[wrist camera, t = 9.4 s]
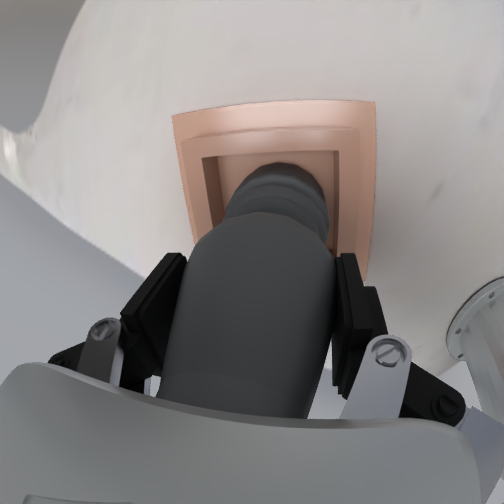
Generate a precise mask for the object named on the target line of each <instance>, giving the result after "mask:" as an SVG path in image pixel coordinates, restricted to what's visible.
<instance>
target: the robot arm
mask: <svg viewBox="0 0 504 504" xmlns="http://www.w3.org/2000/svg"><path fill="white" fill-rule="evenodd" d="M335 262H336V270H337V301H336V322H335V326H334V329H333V333H332V337H331V340H332V379H333V386H338V394H342V397H343V398H344V399H346V400H347V402H346V404H345V406H344V409H343V411H342V413H341V415H340V418H339V419H295V418H278V417H266V416H255V415H246V414H239V413H231V412H224V411H218V410H212V409H206V408H201V407H195V406H190V405H186V404H181V403H176V402H172V401H168V400H164V399H160V398H156V397H152V396H150V384H151V378H150V377H151V376H152V375H155V376H159V377H161V375H162V370H163V365H164V359H165V354H166V349H167V344H168V340H169V335H170V330H171V326H172V321H173V316H174V312H175V308H176V303H177V299H178V294H179V290H180V285H181V281H182V277H183V273H184V269H185V267H186V264H187V259H186V257H185V256H183V255H182V254H181V253H167V254H166V255H165V256H164V257H163V259H162V260H161V261H160V262H159V264H158V265H157V266H156V267H155V268H154V270H153V271H152V272H151V273H150V275H149V276H148V277H147V278H146V280H145V281H144V282H143V284H142V285H141V286H140V287H139V289H138V290H137V291H136V293H135V294H134V295H133V296H132V298H131V299H130V300H129V302H128V303H127V304H126V306H125V307H124V308H123V310H122V311H121V312H120V314H121V318H120V320H118V319H116V318H104V319H102V320H100V321H98V322H96V323H95V324H94V325H93V326H92V327H91V328H90V330H89V332H88V335H87V338H86V341H85V342H83V343H80V344H78V345H76V346H73V347H71V348H68V349H66V350H64V351H61V352H59V353H57V354H55V355H53V356H52V357H51V358H50V360H49V361H48V363H41V362H32V363H25V364H22V365H19V366H17V367H16V368H15V369H14V370H13V371H12V372H11V373H10V374H9V375H8V376H7V378H6V379H5V380H4V381H3V383H2V384H1V385H0V504H485V503H486V502H487V500H488V498H489V496H490V495H491V493H492V491H493V489H494V487H495V485H496V484H497V482H498V480H499V478H500V477H501V478H502V479H503V480H504V278H502V279H498V280H496V281H494V282H492V283H490V284H488V285H487V286H486V287H484V288H483V289H481V290H480V291H479V292H478V293H476V294H475V295H474V296H473V297H472V298H471V299H470V300H469V301H468V302H467V303H466V304H465V305H464V307H463V308H462V309H461V310H460V311H459V313H458V314H457V316H456V317H455V319H454V320H453V322H452V324H451V326H450V329H449V332H448V335H447V347H448V350H449V352H450V355H451V356H452V357H453V358H455V359H456V360H461V361H466V363H467V365H468V368H469V371H470V373H471V376H472V379H473V382H474V385H475V388H476V391H477V394H478V398H479V401H480V404H481V408H482V412H481V411H480V410H478V409H476V408H475V407H473V406H472V407H471V408H470V409H469V408H467V407H466V405H465V401H464V398H463V397H462V395H461V394H460V393H459V392H458V391H457V390H455V389H454V388H452V387H450V386H449V385H447V384H446V383H444V382H443V381H441V380H439V379H438V378H436V377H435V376H433V375H432V374H430V373H428V372H427V371H425V370H424V369H422V368H420V367H419V366H417V365H416V364H414V363H413V362H411V358H412V351H411V349H410V347H409V345H408V344H407V343H406V342H405V341H404V340H403V339H401V338H400V337H397V336H394V335H388V331H387V327H386V323H385V319H384V315H383V311H382V308H381V304H380V301H379V297H378V294H377V290H376V288H375V287H374V286H364V285H363V281H362V277H361V273H360V269H359V266H358V262H357V258H356V255H355V253H341V254H340V257H335ZM502 504H504V503H502Z"/></svg>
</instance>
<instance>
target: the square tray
mask: <svg viewBox="0 0 504 504" xmlns="http://www.w3.org/2000/svg"><path fill="white" fill-rule="evenodd" d="M172 123H173V130H174V136H175V143H176V149H177V155H178V161H179V167H180V172H181V178H182V183H183V189H184V194H185V199H186V205H187V210H188V215H189V220H190V224H191V229H192V234H193V239H194V243H195V245H196V244H197V242H198V241H199V240H200V238H201V237H203V236H204V235H205V234H207V233H208V232H209V231H211V230H212V229H213V228H214V227H216V226H217V225H218V224H220V223H221V222H222V221H223V219H224V217H225V215H226V207H227V205H228V203H229V201H230V200H231V198H232V196H233V194H234V192H235V190H236V189H237V188H238V187H239V185H240V184H241V183H242V181H243V180H244V179H245V178H246V177H247V176H248V175H249V174H251V173H252V172H253V171H254V170H256V169H257V168H258V167H260V166H263V165H267V164H271V163H276V162H281V163H288V164H294V165H297V166H299V167H301V168H302V169H304V170H306V171H307V172H309V173H310V174H312V175H313V177H314V178H315V179H316V181H317V182H318V183H319V185H320V186H321V188H322V189H323V193H324V198H325V202H326V207H327V212H328V217H329V222H330V228H329V232H328V238H327V242H326V247H327V249H328V250H329V252H330V253H331V254H332V256H333V257H334V259H335V257H340V254H341V253H355V255H356V258H357V262H358V266H359V269H360V273H361V277H362V281H365V280H366V273H367V266H368V259H369V251H370V243H371V233H372V223H373V212H374V197H375V178H376V113H375V102H365V101H345V100H296V101H276V102H262V103H251V104H242V105H233V106H225V107H218V108H212V109H205V110H199V111H194V112H188V113H183V114H178V115H173V116H172Z"/></svg>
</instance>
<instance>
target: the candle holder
mask: <svg viewBox="0 0 504 504" xmlns="http://www.w3.org/2000/svg"><path fill="white" fill-rule="evenodd" d="M329 228H330V222H329V217H328V212H327V207H326V202H325V198H324V193H323V189H322V188H321V186H320V185H319V183H318V182H317V181H316V179H315V178H314V177H313V175H312V174H310V173H309V172H307V171H306V170H304V169H302V168H301V167H299V166H297V165H294V164H288V163H281V162H276V163H271V164H267V165H263V166H260V167H258V168H257V169H256V170H254V171H253V172H252V173H251V174H249V175H248V176H247V177H246V178H245V179H244V180H243V181H242V183H241V184H240V185H239V187H238V188H237V189H236V190H235V192H234V194H233V196H232V198H231V200H230V201H229V203H228V205H227V207H226V215H225V217H224V219H223V221H222V222H221V223H220V224H218V225H217V226H216V227H214V228H213V229H212V230H211V231H209V232H208V233H207V234H205V235H204V236H203V237H201V238H200V240H199V241H198V242H197V244H196V245H195V247H194V249H193V251H192V254H191V256H190V258H189V260H188V262H187V264H186V267H185V269H184V273H183V277H182V281H181V285H180V290H179V294H178V299H177V303H176V308H175V312H174V316H173V321H172V326H171V330H170V335H169V340H168V344H167V349H166V354H165V359H164V365H163V370H162V375H161V382H160V387H159V390H158V392H157V395H156V398H160V399H164V400H168V401H172V402H176V403H181V404H186V405H190V406H195V407H201V408H206V409H212V410H218V411H224V412H231V413H239V414H246V415H255V416H266V417H278V418H295V419H307V417H308V414H309V411H310V408H311V405H312V402H313V399H314V396H315V393H316V390H317V387H318V383H319V380H320V377H321V374H322V370H323V367H324V363H325V360H326V356H327V352H328V349H329V345H330V341H331V337H332V333H333V329H334V326H335V322H336V301H337V270H336V262H335V259H334V257H333V256H332V254H331V253H330V252H329V250H328V249H327V247H326V242H327V238H328V232H329Z"/></svg>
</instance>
